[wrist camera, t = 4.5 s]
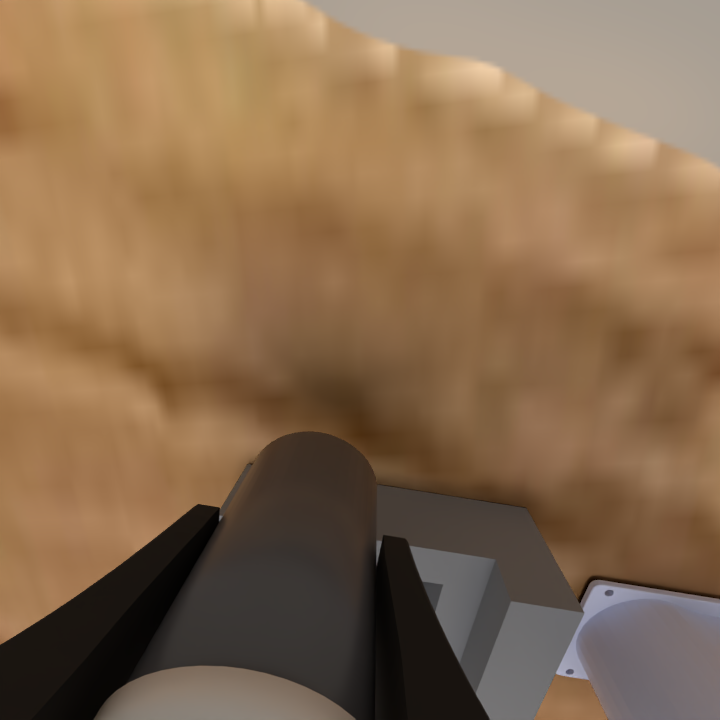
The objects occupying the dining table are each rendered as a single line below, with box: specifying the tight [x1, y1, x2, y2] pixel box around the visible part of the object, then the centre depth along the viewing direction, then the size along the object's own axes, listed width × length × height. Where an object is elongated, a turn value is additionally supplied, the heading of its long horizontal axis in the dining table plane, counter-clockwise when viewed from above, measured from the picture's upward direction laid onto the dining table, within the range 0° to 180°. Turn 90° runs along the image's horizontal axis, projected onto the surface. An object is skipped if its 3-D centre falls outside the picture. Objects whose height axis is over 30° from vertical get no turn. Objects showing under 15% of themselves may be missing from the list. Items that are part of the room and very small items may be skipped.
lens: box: [94, 432, 377, 720], centre depth 8 cm, size 5×5×8 cm
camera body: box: [219, 464, 584, 720], centre depth 19 cm, size 16×10×6 cm, turn 82°
